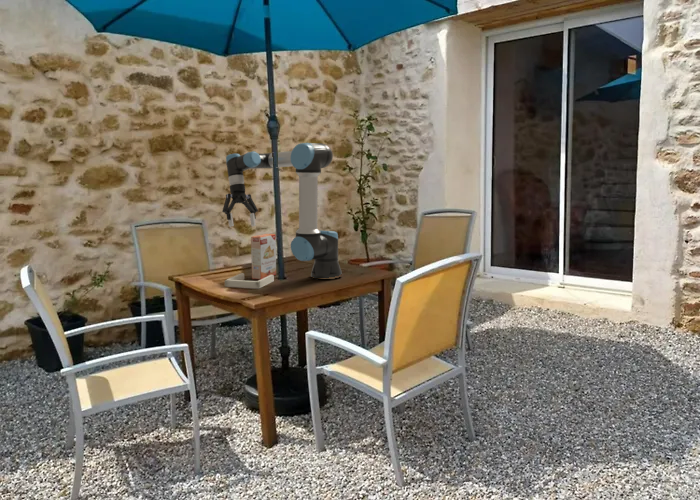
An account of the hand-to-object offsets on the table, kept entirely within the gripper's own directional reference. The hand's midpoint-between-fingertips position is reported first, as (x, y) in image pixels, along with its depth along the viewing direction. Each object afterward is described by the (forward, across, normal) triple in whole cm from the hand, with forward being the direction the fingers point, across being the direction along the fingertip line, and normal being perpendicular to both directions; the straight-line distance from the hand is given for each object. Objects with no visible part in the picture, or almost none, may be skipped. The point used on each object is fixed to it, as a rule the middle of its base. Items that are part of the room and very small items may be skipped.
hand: (242, 226), depth 295 cm
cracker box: (+27, -4, +7) cm, 28 cm away
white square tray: (+30, +11, +14) cm, 35 cm away
